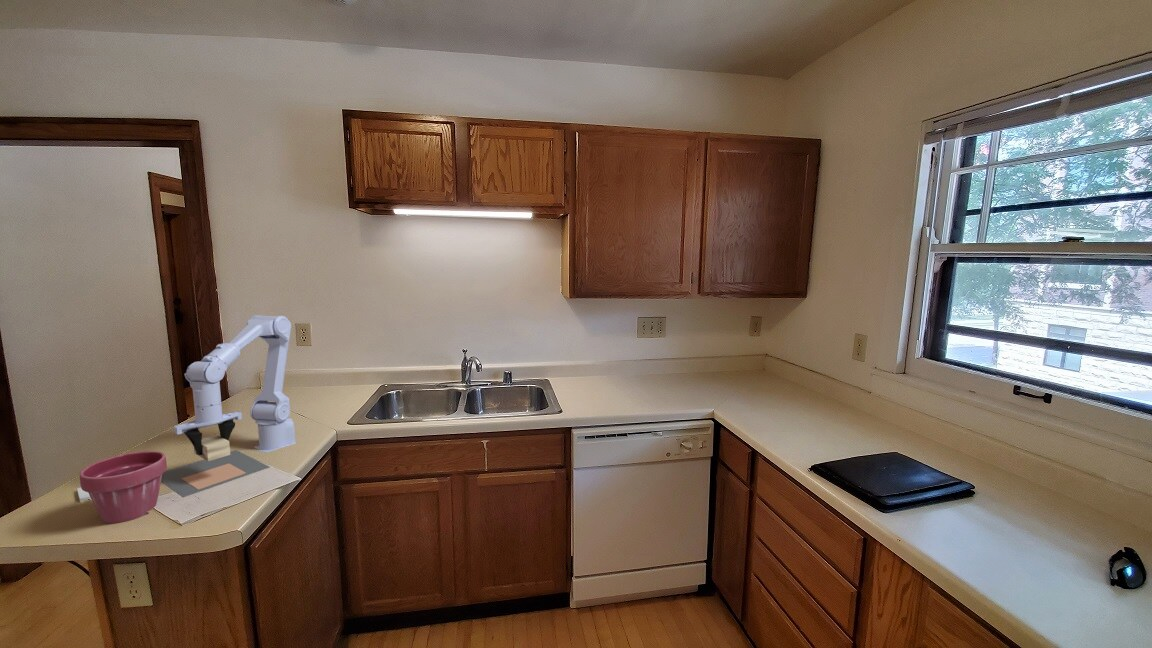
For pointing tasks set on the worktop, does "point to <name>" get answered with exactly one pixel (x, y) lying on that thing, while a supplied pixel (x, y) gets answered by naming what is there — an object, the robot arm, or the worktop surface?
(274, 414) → the robot arm
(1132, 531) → the worktop surface
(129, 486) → the plant pot
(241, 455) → the mat
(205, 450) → the card box
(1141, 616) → the worktop surface
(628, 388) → the worktop surface
